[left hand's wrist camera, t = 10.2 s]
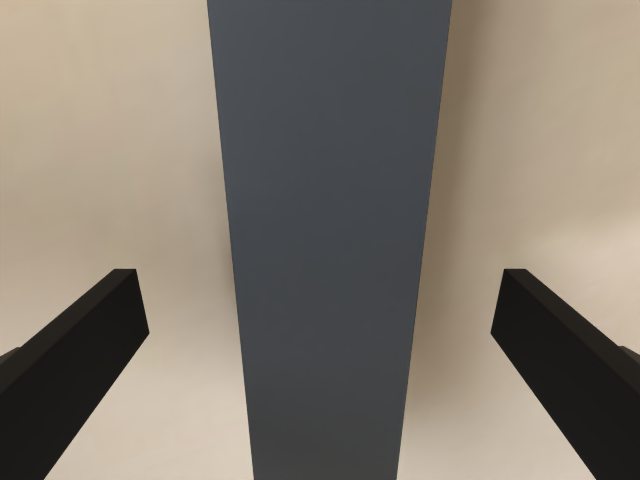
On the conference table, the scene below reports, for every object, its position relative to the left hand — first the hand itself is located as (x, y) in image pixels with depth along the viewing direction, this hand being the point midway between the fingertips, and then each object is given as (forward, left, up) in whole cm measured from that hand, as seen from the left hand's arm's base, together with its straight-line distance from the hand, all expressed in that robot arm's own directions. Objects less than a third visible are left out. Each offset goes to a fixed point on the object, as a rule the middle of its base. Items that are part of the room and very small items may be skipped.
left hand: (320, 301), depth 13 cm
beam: (+28, +20, -5) cm, 35 cm away
